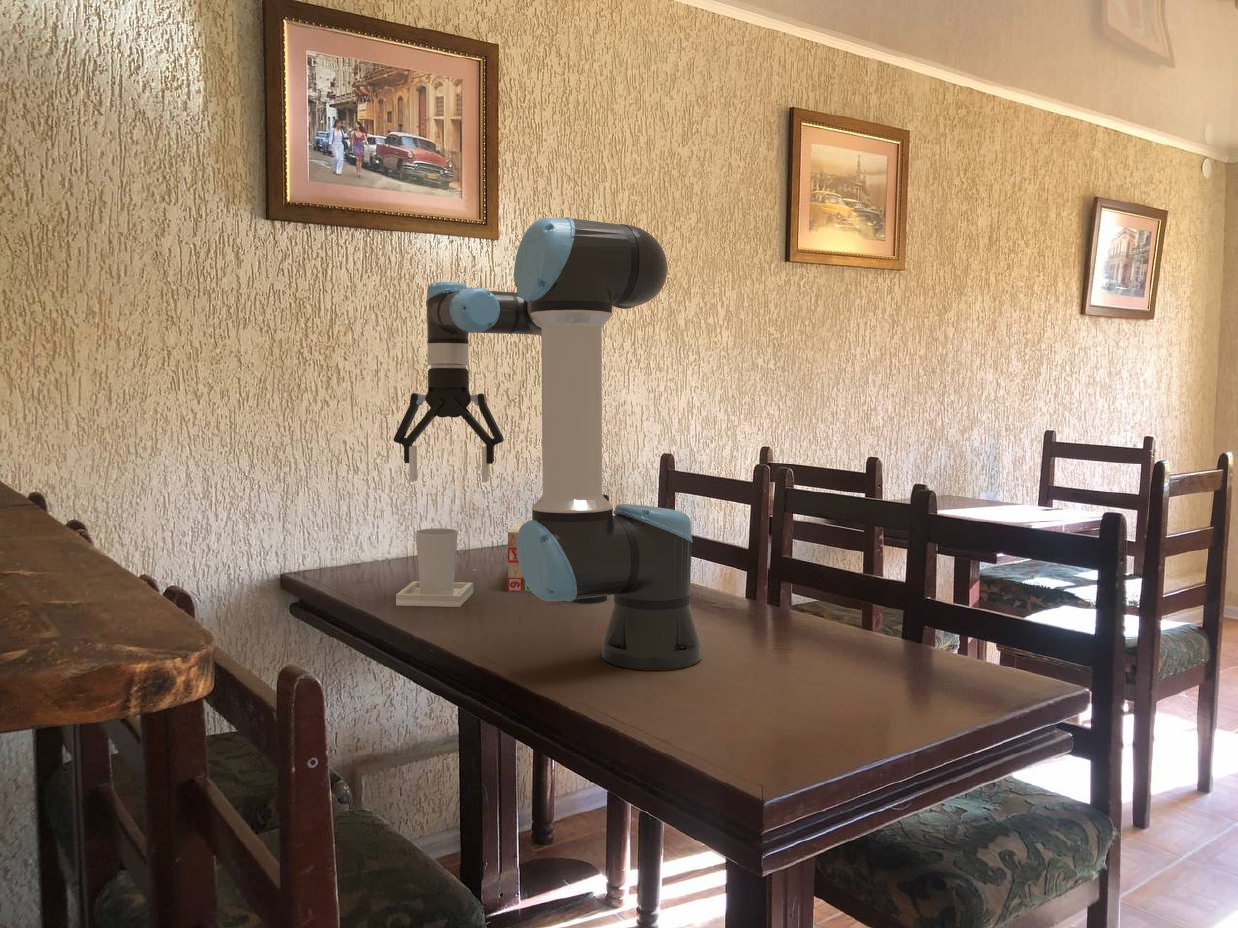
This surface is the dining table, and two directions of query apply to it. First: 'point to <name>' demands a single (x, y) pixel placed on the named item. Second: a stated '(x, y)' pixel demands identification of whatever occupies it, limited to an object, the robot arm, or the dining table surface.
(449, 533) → the cup
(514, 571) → the stack of blocks
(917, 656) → the dining table surface
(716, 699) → the dining table surface
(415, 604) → the cream square tray
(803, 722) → the dining table surface
